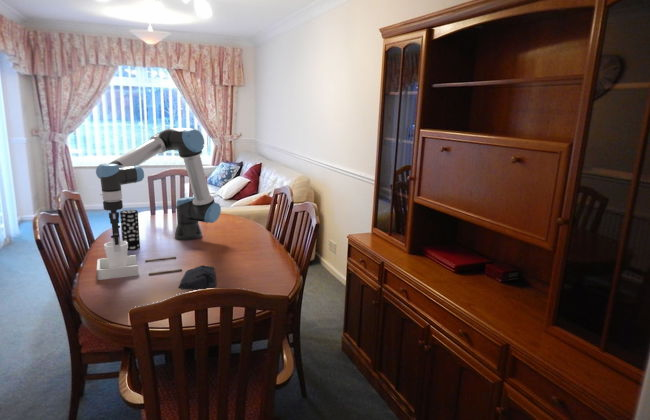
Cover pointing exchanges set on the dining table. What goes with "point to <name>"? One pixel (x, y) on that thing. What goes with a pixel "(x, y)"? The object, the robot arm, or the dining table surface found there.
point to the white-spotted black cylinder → (130, 229)
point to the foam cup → (116, 254)
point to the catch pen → (117, 269)
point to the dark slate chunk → (199, 278)
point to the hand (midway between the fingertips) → (117, 247)
